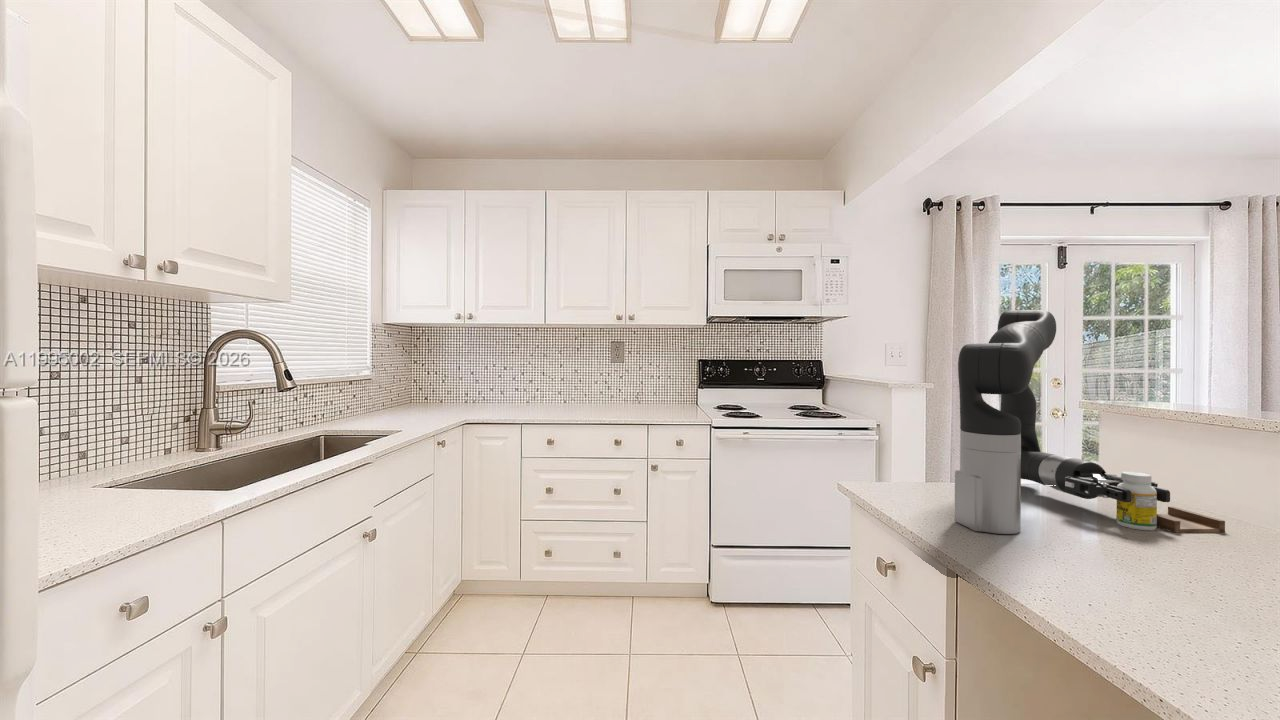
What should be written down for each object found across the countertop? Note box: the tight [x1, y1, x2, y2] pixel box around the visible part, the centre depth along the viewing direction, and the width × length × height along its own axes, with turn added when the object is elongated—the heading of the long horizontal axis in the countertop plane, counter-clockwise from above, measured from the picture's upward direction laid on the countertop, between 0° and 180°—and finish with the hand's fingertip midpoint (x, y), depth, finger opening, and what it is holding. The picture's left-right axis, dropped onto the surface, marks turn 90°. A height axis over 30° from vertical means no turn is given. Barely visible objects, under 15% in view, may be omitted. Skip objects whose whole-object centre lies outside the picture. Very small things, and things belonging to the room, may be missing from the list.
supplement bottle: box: [1116, 471, 1158, 532], centre depth 97 cm, size 5×5×10 cm
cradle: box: [1157, 506, 1226, 533], centre depth 98 cm, size 9×9×2 cm
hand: (1148, 496), depth 94 cm, fingers open, 6 cm apart
